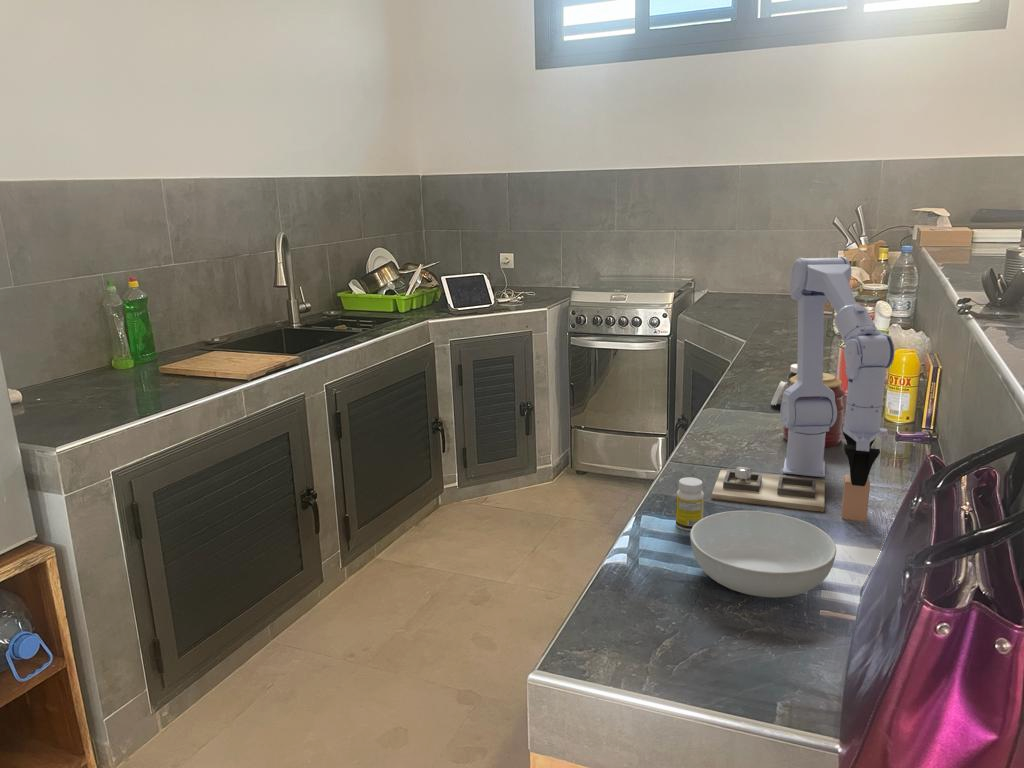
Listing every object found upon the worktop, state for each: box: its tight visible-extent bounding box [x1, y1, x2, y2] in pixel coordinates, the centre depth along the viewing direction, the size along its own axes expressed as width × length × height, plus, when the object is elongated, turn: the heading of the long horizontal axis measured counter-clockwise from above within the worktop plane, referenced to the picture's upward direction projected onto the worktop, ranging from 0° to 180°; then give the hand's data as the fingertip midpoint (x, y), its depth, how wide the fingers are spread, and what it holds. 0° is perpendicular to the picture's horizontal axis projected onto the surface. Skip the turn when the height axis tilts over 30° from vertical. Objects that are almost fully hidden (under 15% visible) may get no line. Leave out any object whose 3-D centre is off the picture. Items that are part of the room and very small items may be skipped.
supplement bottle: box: [675, 476, 705, 532], centre depth 137 cm, size 5×5×8 cm
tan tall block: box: [841, 473, 871, 522], centre depth 140 cm, size 4×4×7 cm
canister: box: [781, 372, 846, 448], centre depth 181 cm, size 13×13×18 cm
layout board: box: [711, 469, 826, 513], centre depth 152 cm, size 14×20×2 cm
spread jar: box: [770, 363, 797, 407], centre depth 208 cm, size 12×11×12 cm
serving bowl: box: [689, 510, 837, 598], centre depth 118 cm, size 21×21×7 cm
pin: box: [734, 466, 752, 484], centre depth 154 cm, size 3×3×3 cm
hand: (857, 477), depth 139 cm, fingers open, 7 cm apart
